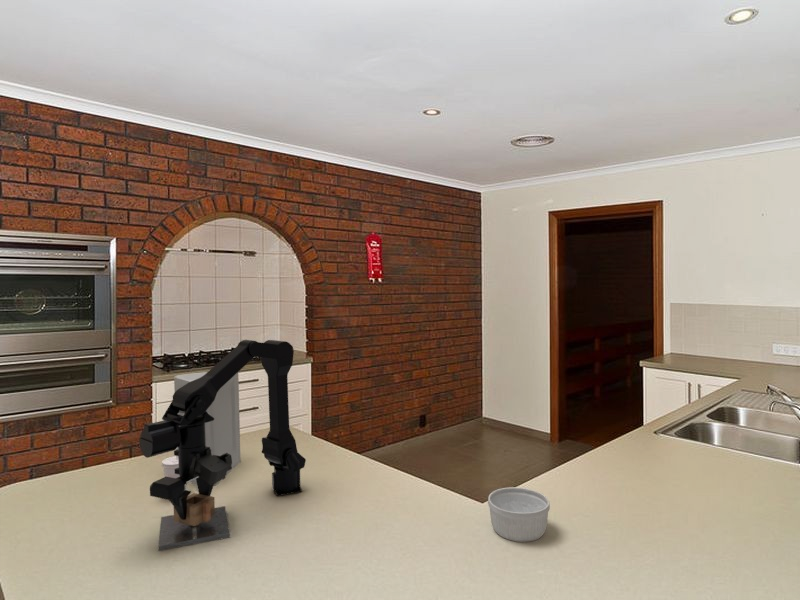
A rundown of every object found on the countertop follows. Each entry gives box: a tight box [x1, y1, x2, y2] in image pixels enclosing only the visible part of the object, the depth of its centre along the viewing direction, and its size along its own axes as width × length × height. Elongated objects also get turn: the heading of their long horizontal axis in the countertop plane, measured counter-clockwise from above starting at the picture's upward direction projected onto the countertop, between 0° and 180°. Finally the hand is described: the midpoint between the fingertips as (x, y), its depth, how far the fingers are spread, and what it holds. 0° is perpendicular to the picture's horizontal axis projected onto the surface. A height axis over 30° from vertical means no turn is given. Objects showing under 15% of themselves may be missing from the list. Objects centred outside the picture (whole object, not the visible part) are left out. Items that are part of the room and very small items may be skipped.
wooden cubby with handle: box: [173, 492, 216, 526], centre depth 116 cm, size 6×7×4 cm
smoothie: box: [161, 447, 180, 478], centre depth 133 cm, size 6×6×14 cm
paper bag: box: [173, 371, 241, 487], centre depth 149 cm, size 19×15×28 cm
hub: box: [157, 505, 231, 552], centre depth 116 cm, size 14×14×4 cm
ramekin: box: [487, 486, 551, 543], centre depth 114 cm, size 13×13×7 cm
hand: (194, 513), depth 116 cm, fingers closed on wooden cubby with handle, 6 cm apart
